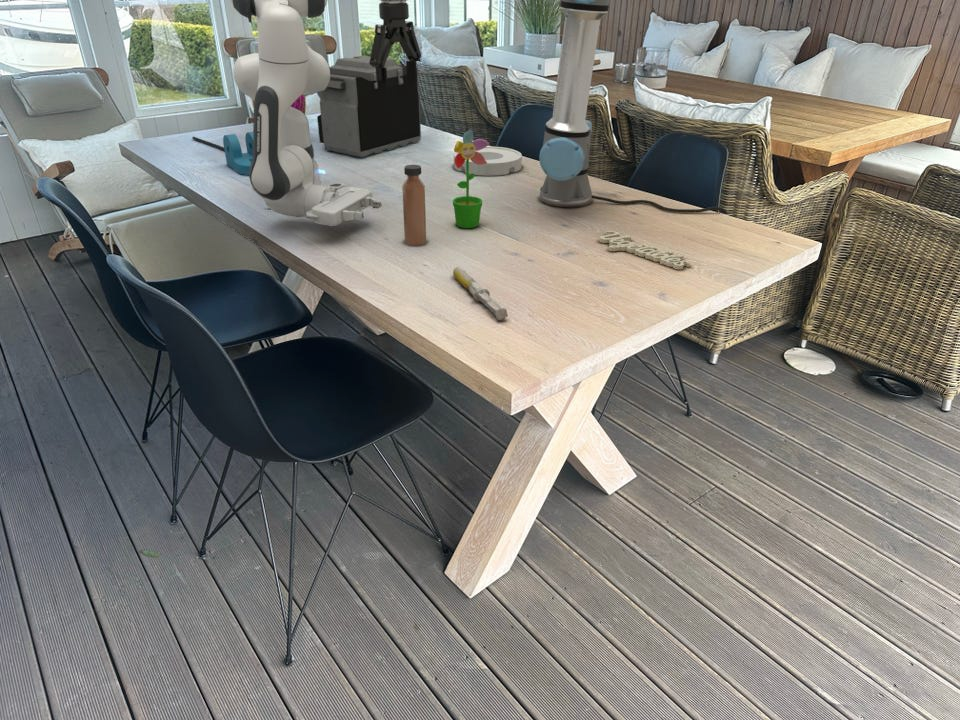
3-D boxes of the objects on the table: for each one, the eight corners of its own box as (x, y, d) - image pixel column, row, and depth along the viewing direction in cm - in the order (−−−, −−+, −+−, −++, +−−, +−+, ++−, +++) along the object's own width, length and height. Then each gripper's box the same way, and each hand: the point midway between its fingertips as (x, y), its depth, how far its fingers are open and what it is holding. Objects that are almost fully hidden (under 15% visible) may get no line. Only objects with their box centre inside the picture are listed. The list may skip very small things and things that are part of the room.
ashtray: (455, 157, 245) (455, 145, 243) (520, 158, 244) (521, 146, 242) (451, 174, 225) (451, 162, 223) (522, 176, 224) (522, 164, 222)
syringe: (449, 274, 155) (449, 263, 153) (465, 272, 156) (464, 260, 154) (490, 323, 135) (491, 310, 133) (508, 319, 136) (508, 307, 134)
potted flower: (459, 231, 179) (458, 133, 166) (446, 222, 185) (444, 126, 172) (490, 226, 182) (492, 129, 170) (477, 217, 188) (478, 123, 176)
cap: (424, 173, 164) (424, 166, 163) (414, 176, 161) (413, 169, 160) (411, 170, 166) (411, 163, 165) (401, 174, 163) (400, 167, 162)
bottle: (430, 241, 173) (428, 167, 164) (417, 247, 169) (414, 172, 160) (414, 236, 176) (411, 164, 166) (400, 242, 172) (396, 169, 162)
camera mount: (227, 164, 233) (221, 132, 227) (257, 160, 238) (252, 129, 233) (244, 176, 220) (239, 143, 215) (276, 172, 225) (271, 139, 220)
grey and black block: (383, 133, 276) (378, 52, 261) (425, 141, 265) (422, 56, 250) (314, 150, 251) (304, 61, 235) (358, 160, 240) (350, 67, 224)
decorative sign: (585, 238, 173) (610, 229, 179) (584, 241, 173) (610, 233, 179) (673, 269, 156) (698, 259, 162) (672, 273, 156) (697, 262, 162)
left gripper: (299, 203, 166) (349, 210, 162) (342, 181, 183) (389, 186, 179) (302, 228, 170) (351, 235, 166) (344, 204, 186) (390, 210, 182)
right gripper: (409, -1, 186) (412, 82, 197) (351, 3, 167) (358, 95, 178) (432, 0, 183) (434, 85, 194) (375, 4, 164) (381, 98, 175)
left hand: (371, 210), depth 172 cm, fingers open, 8 cm apart
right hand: (397, 90), depth 186 cm, fingers open, 13 cm apart
